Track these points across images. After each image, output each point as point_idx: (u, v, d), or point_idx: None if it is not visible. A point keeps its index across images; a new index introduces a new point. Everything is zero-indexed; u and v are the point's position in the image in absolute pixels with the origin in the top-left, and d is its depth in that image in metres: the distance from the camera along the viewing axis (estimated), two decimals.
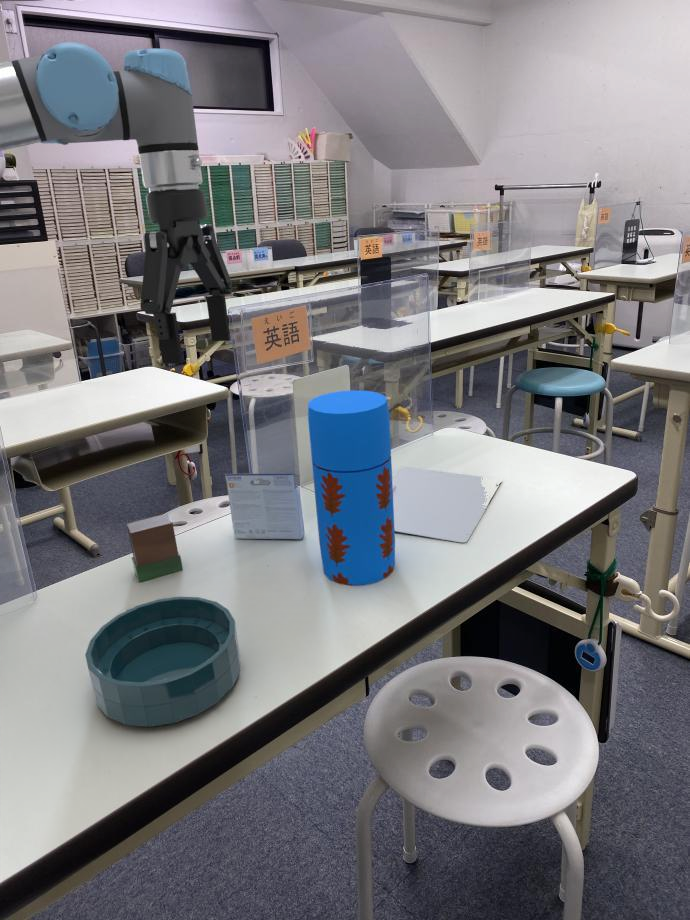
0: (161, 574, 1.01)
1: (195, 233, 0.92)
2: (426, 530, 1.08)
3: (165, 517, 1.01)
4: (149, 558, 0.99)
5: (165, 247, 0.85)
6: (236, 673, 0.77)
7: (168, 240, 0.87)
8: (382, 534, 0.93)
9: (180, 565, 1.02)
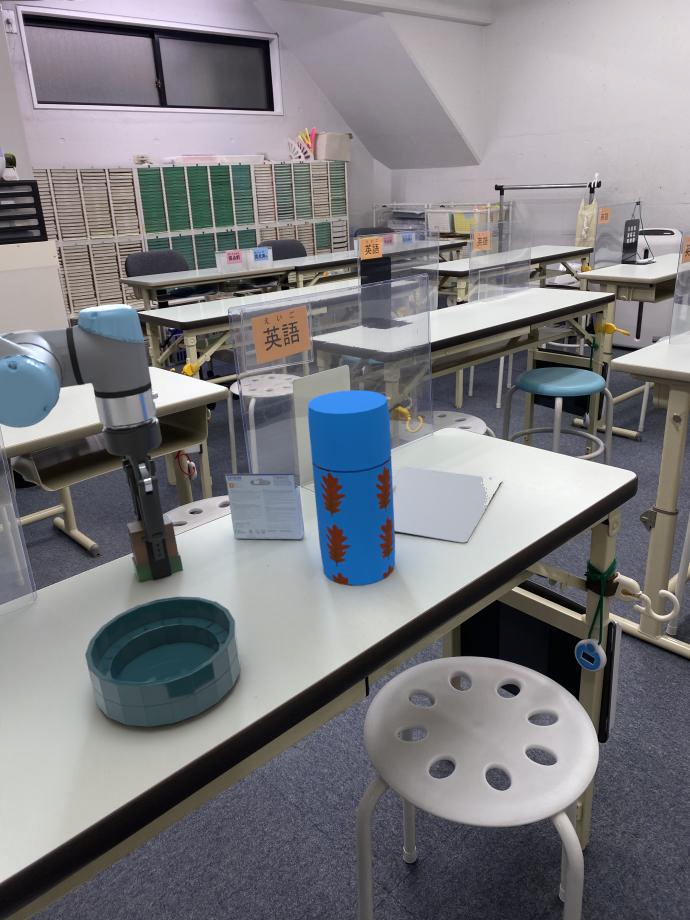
0: None
1: None
2: (426, 530, 1.08)
3: (165, 517, 1.01)
4: None
5: None
6: (236, 673, 0.77)
7: (148, 473, 0.93)
8: (382, 534, 0.93)
9: (180, 565, 1.02)
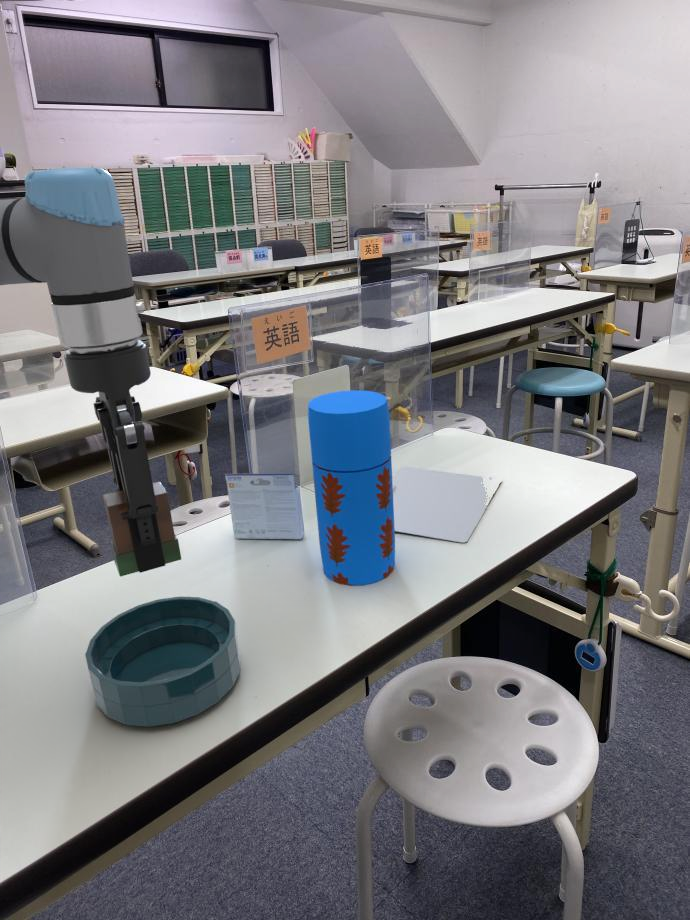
0: None
1: None
2: (426, 530, 1.08)
3: (157, 486, 0.72)
4: None
5: None
6: (236, 673, 0.77)
7: None
8: (382, 534, 0.93)
9: (178, 553, 0.73)
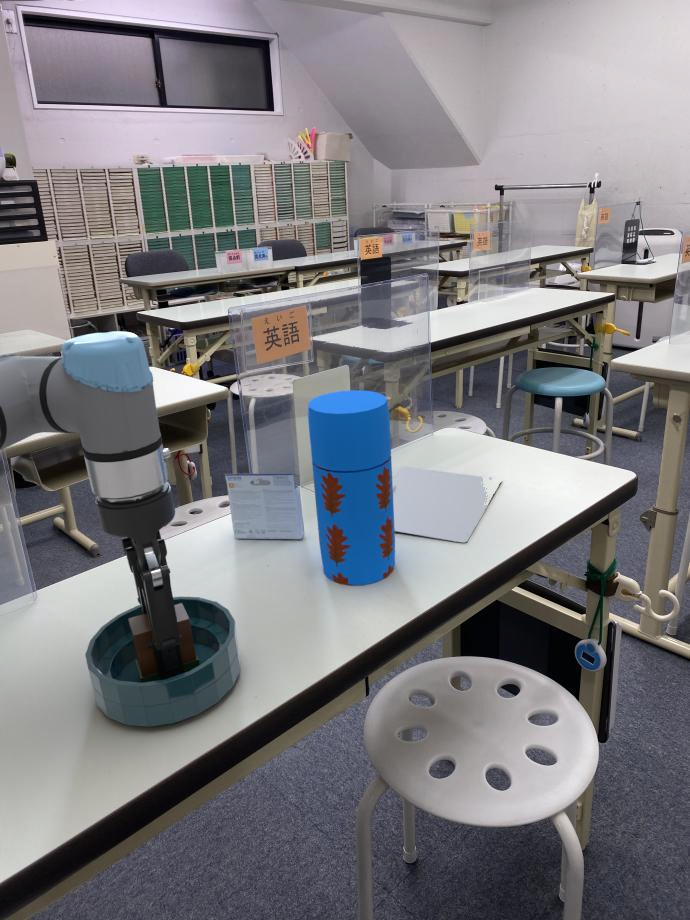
0: None
1: None
2: (426, 530, 1.08)
3: (179, 609, 0.76)
4: None
5: None
6: (236, 673, 0.77)
7: (156, 559, 0.68)
8: (382, 534, 0.93)
9: None
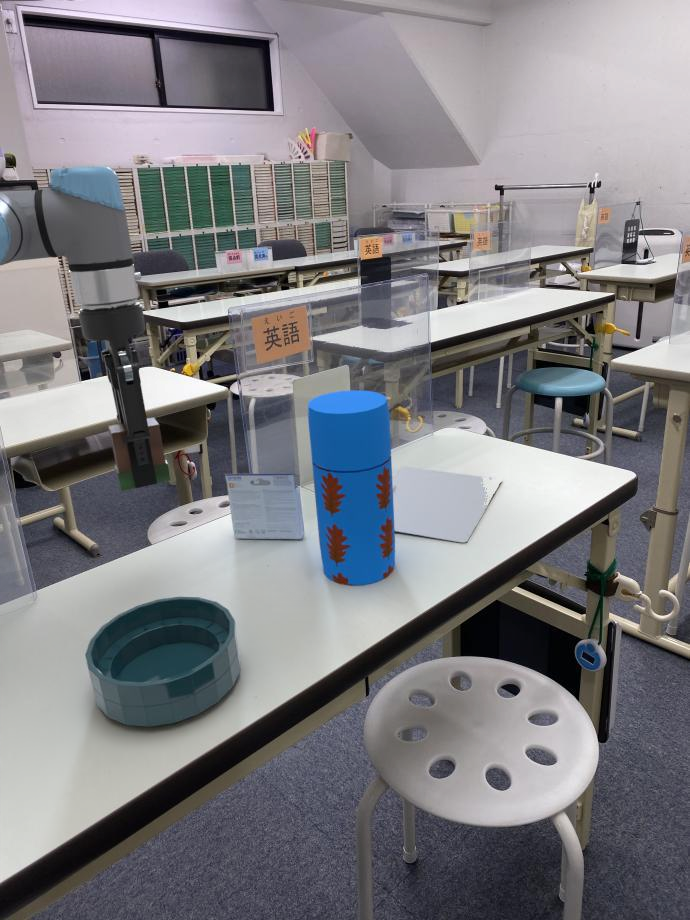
0: None
1: None
2: (426, 530, 1.08)
3: (151, 420, 0.91)
4: None
5: None
6: (236, 673, 0.77)
7: (128, 361, 0.83)
8: (382, 534, 0.93)
9: (167, 474, 0.92)
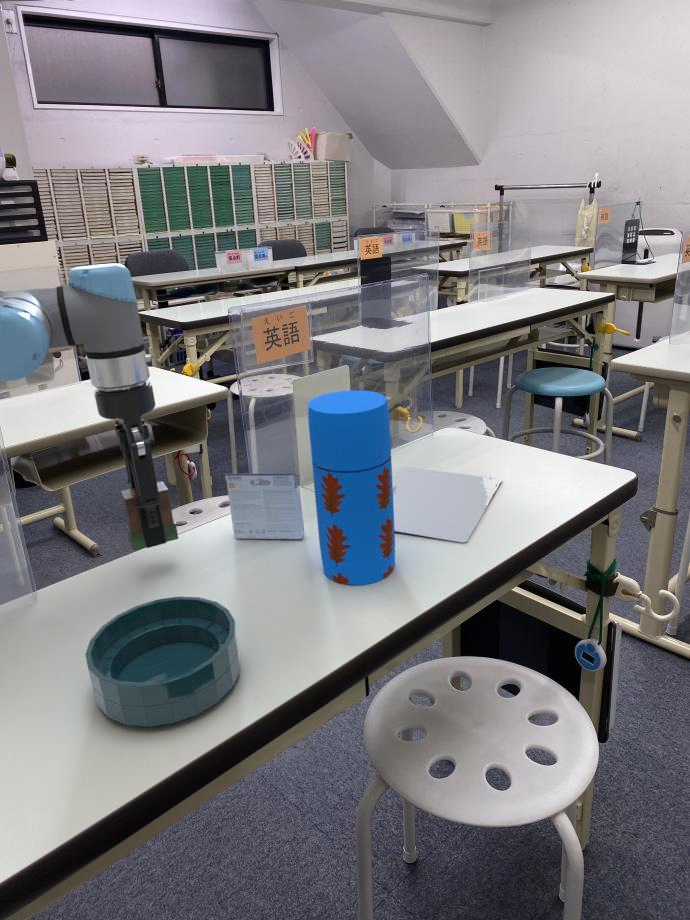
0: None
1: None
2: (426, 530, 1.08)
3: (160, 484, 0.99)
4: None
5: None
6: (236, 673, 0.77)
7: (141, 437, 0.91)
8: (382, 534, 0.93)
9: (175, 534, 1.00)
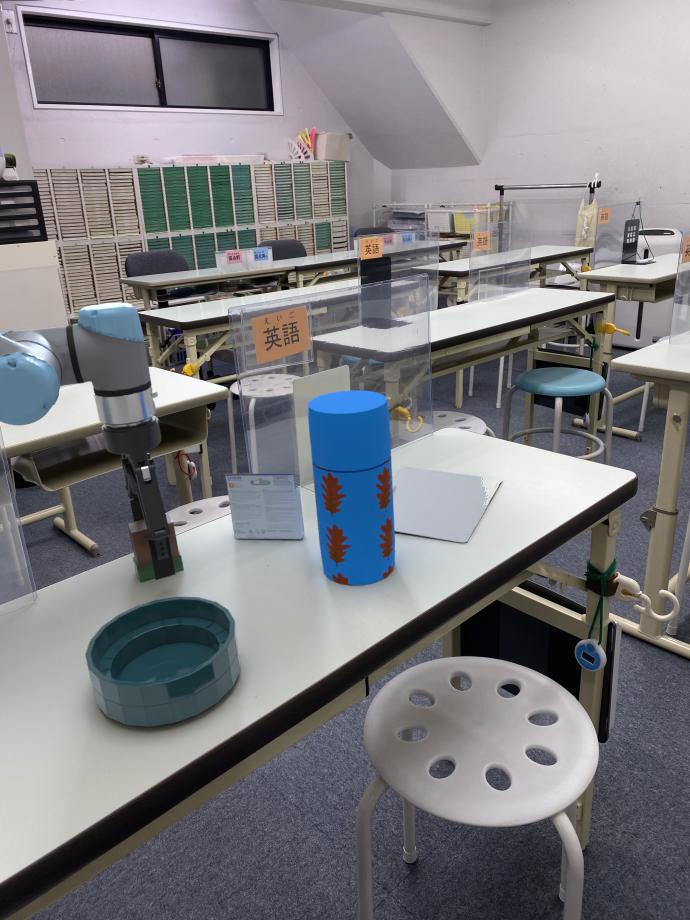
0: None
1: None
2: (426, 530, 1.08)
3: (166, 517, 1.01)
4: (150, 558, 0.99)
5: None
6: (236, 673, 0.77)
7: None
8: (382, 534, 0.93)
9: (181, 565, 1.02)
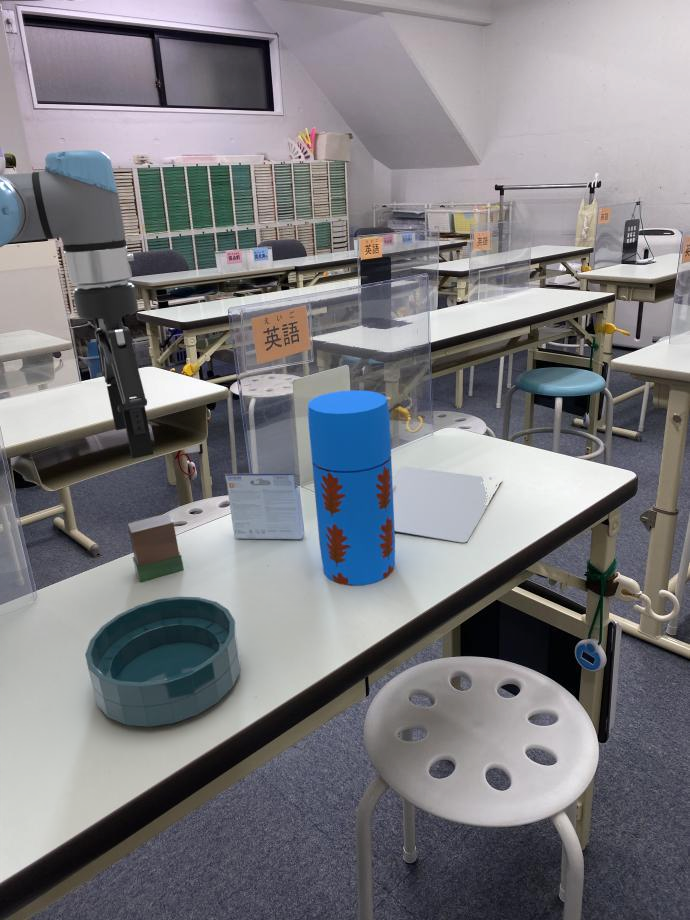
0: (162, 574, 1.01)
1: None
2: (426, 530, 1.08)
3: (166, 517, 1.01)
4: (150, 558, 0.99)
5: None
6: (236, 673, 0.77)
7: None
8: (382, 534, 0.93)
9: (181, 565, 1.02)
